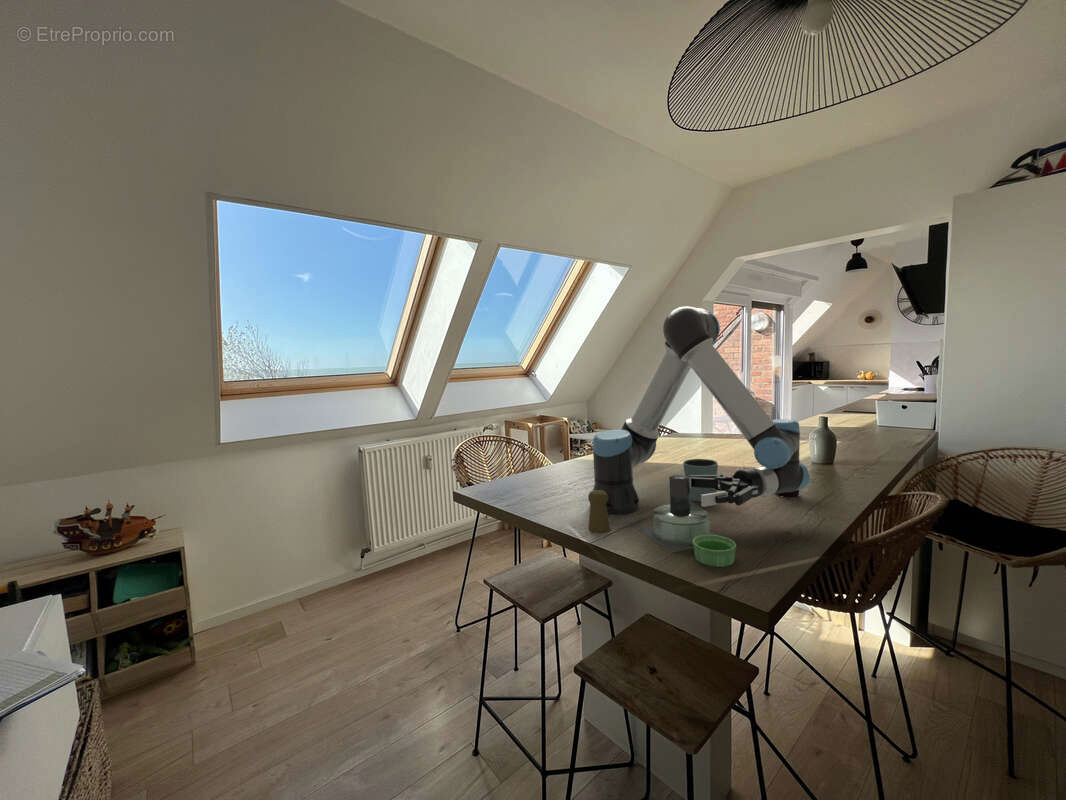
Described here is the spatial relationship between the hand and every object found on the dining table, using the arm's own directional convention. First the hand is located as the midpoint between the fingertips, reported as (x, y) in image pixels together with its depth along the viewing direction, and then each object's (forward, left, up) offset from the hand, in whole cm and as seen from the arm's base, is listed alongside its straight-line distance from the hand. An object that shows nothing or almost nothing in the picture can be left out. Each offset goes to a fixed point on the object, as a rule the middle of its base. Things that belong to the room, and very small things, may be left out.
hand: (684, 493), depth 112 cm
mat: (-1, -1, -12) cm, 12 cm away
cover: (-1, -1, -11) cm, 11 cm away
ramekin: (+13, -2, -12) cm, 18 cm away
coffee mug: (-18, +49, -12) cm, 54 cm away
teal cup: (-24, +22, -12) cm, 34 cm away
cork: (-13, -18, -12) cm, 25 cm away
